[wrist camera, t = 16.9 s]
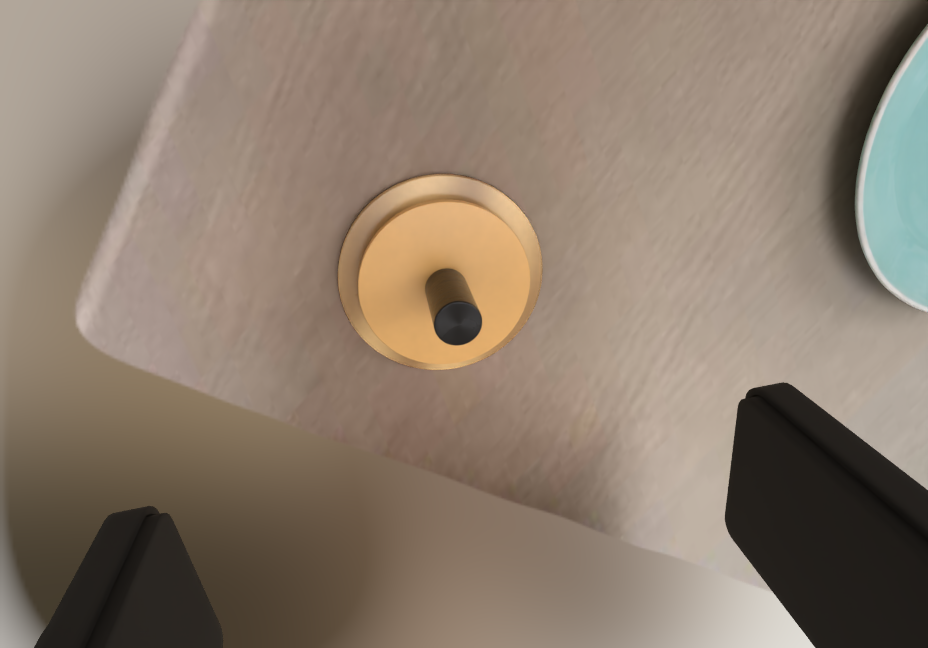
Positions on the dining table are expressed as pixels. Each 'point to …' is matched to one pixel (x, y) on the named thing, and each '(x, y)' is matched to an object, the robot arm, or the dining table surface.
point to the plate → (898, 182)
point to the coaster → (409, 196)
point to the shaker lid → (443, 281)
